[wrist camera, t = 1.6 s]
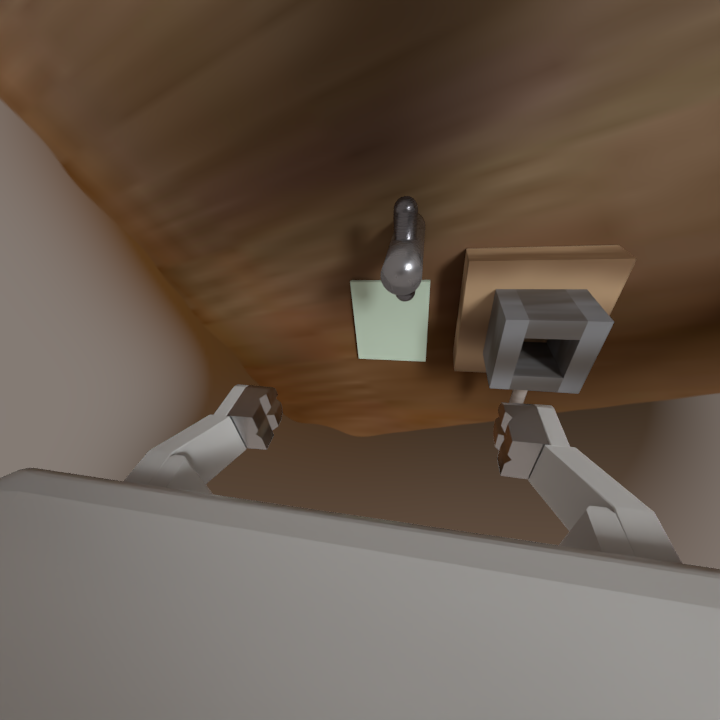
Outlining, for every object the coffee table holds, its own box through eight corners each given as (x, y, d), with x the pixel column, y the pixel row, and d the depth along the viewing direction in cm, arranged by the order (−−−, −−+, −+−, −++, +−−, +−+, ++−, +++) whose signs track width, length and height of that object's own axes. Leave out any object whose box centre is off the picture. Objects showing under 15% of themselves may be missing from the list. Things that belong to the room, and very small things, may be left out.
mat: (350, 280, 32) (350, 281, 31) (430, 279, 30) (430, 281, 30) (359, 356, 38) (358, 358, 38) (425, 359, 36) (425, 361, 36)
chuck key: (395, 179, 25) (377, 213, 17) (427, 177, 25) (424, 211, 17) (396, 268, 30) (382, 327, 22) (423, 268, 30) (419, 327, 22)
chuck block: (466, 248, 28) (475, 288, 22) (618, 244, 25) (676, 288, 19) (451, 367, 36) (454, 419, 30) (563, 372, 34) (591, 430, 28)
